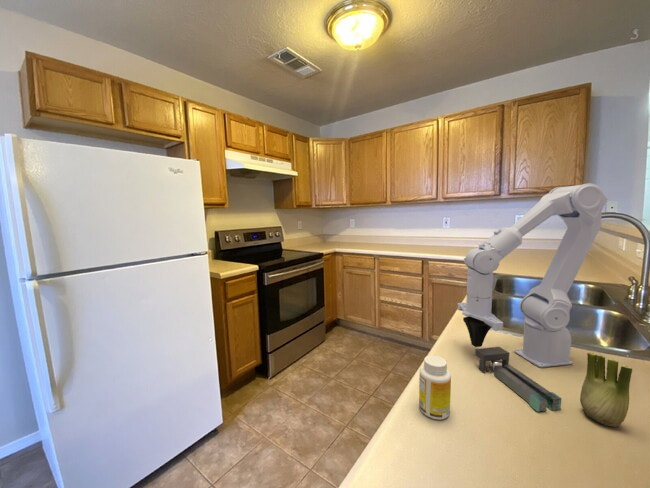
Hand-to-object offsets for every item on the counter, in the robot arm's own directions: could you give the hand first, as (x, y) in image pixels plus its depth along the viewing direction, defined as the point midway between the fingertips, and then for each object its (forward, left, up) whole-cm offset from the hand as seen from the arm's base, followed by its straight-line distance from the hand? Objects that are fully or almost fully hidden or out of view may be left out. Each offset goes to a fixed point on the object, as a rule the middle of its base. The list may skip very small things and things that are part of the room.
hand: (476, 345), depth 73 cm
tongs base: (-1, +13, -3) cm, 14 cm away
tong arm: (+2, +15, -3) cm, 15 cm away
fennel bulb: (-7, +24, -3) cm, 25 cm away
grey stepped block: (0, +7, -3) cm, 7 cm away
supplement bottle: (+22, +17, -3) cm, 28 cm away
